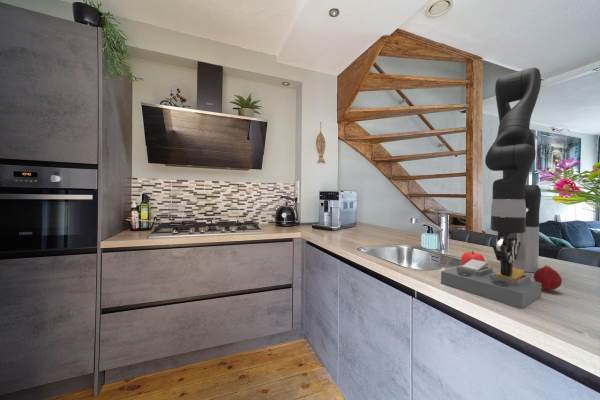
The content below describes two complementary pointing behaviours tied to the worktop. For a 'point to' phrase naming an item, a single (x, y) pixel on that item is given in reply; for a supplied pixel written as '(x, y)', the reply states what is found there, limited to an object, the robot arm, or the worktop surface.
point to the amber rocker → (515, 274)
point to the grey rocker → (475, 265)
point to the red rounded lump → (548, 278)
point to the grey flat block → (493, 285)
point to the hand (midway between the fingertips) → (506, 275)
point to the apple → (471, 257)
